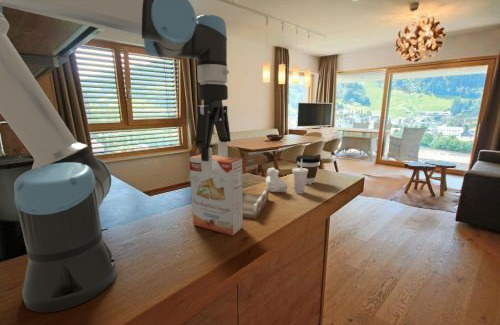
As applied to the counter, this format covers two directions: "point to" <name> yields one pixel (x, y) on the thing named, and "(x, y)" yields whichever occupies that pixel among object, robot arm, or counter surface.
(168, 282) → the counter surface
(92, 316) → the counter surface
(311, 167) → the coffee cup
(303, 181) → the smoothie
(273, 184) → the bust
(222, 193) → the cracker box
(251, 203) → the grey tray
